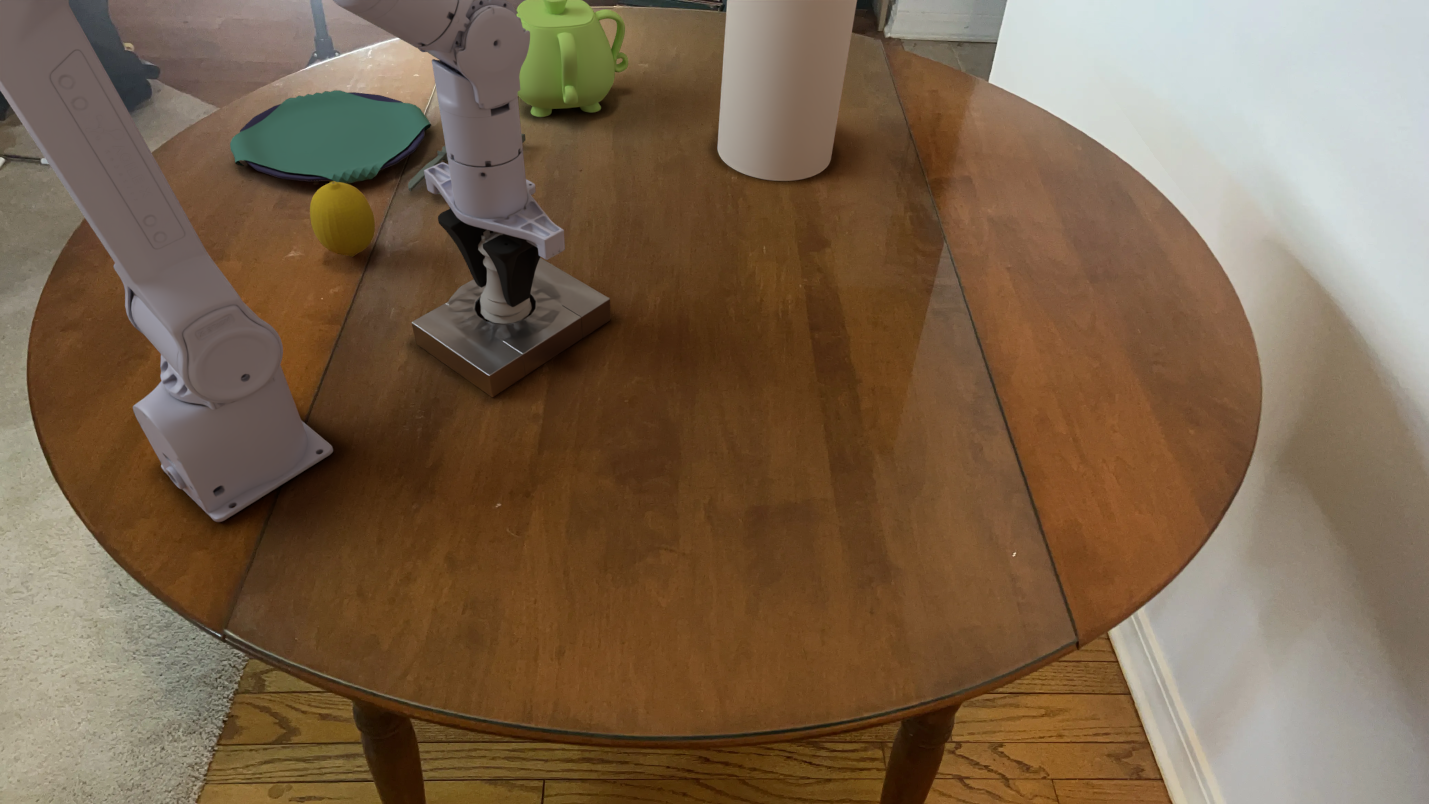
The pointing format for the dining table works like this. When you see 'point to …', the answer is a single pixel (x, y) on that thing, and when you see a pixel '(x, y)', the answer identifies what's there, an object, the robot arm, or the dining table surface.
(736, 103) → the canister
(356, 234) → the lemon
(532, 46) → the teapot
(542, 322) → the stand
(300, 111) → the cutlery set
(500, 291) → the rook chess piece
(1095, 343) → the dining table surface
